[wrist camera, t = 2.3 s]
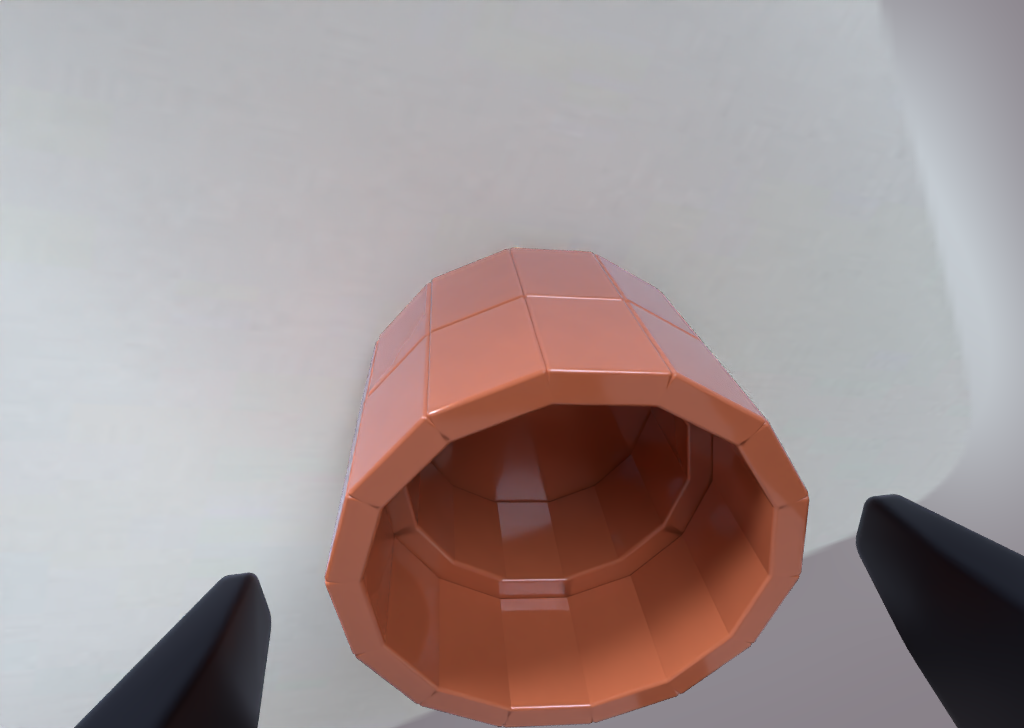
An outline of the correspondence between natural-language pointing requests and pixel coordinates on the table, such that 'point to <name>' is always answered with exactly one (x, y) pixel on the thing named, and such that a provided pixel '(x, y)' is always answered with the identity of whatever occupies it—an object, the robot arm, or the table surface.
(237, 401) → the table surface
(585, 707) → the terracotta flower pot
